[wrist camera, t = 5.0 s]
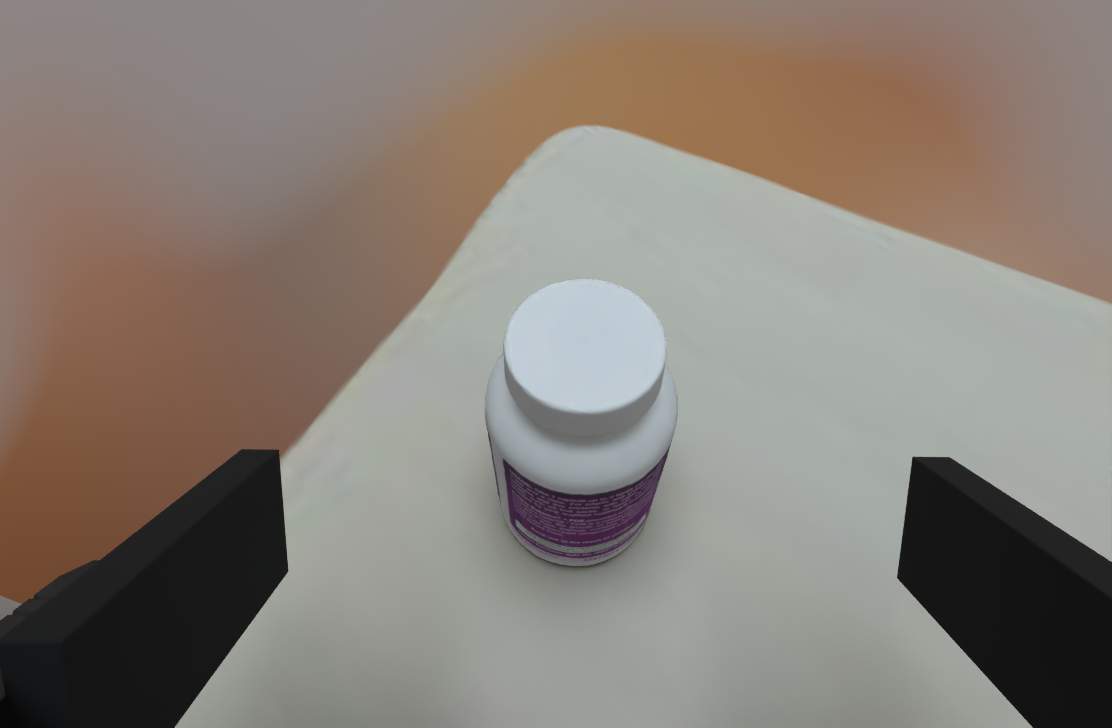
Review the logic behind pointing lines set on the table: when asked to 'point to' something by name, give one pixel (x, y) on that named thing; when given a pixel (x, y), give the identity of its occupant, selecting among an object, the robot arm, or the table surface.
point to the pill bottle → (580, 420)
